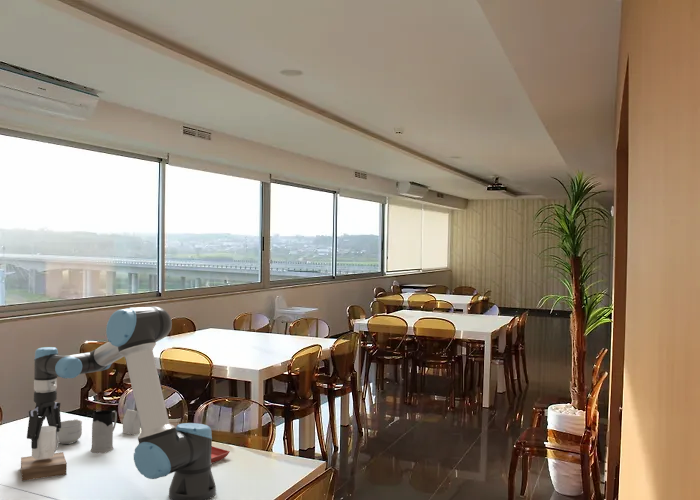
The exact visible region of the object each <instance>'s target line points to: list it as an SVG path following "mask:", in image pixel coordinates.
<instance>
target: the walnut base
mask: <svg viewBox="0 0 700 500" xmlns="http://www.w3.org/2000/svg"><path fill="white" fill-rule="evenodd" d="M67 468H68V466H67V460H66V457H65V453H64V451H62V452H61V451H60V452H54V456H53V457H51V458H48V459H34V458H33V457H32V455H31V456H22V457H20V474H21V481H22V482H25V481H26V482H27V481H31V480H36V479H37V480H38V479H39V480H40V479H47V478H51V477H61V476H66V475H67Z"/></svg>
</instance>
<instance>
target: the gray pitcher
mask: <svg viewBox="0 0 700 500" xmlns="http://www.w3.org/2000/svg"><path fill="white" fill-rule="evenodd" d="M117 415H118V414H117V411H116V410H109V409H107V410H106V409H104V410H103V409H101V410H97V411H94V412H93V413H92V424H91V447H90V450H89V451H90V452H91V453H94V454H104V453H105V452H106V453H108V452H109V451H110V452H111V451H113V450H114V446H113V445H114V444H113V442H114V440H113V439H114V436H113V435H114V431H115V428H116V425H117V420H118V419H117V418H118V416H117ZM113 417H114V419H113ZM113 420H114V423H113ZM110 452H109V453H110Z"/></svg>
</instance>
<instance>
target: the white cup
mask: <svg viewBox="0 0 700 500" xmlns="http://www.w3.org/2000/svg"><path fill="white" fill-rule="evenodd" d="M35 436H36V435H35ZM38 439H40V457H39V458H37V457H33V458H34V459H48V458H51V457H53V456H54V453H55V452H54V448H55V440H56V427H54V426H49V425H45V426H44V425H42V427H41V431H40V435H39V438H38Z"/></svg>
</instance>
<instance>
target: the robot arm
mask: <svg viewBox="0 0 700 500" xmlns="http://www.w3.org/2000/svg"><path fill="white" fill-rule="evenodd" d="M172 325H173V322H172V318H171V315H170V314H169V312H168V311H167V310H166V309H164V308H162V307H159V306H155V305H154V306H145V307H144V306H141V307H127V308H123V309H118V310H115V311H114V312H113V313H112V314H110V316H109V318H108V321H107V323H106V330H105V331H106V332H105V334H106V338H107V342H105V343H104V344H102V345H100V346H99V347H97V348H96V349H94V350H92V351H87V352H80V353H74V354H68V355H66V354H65V355H61V354H59V351H58V350H59V349H58V348H57V347H54V346H44V347H39V348H36V349H35V351H34V360H33V361H34V363H33V364H34V365H33V367H34V368H33V370H34V376H33V377H34V378H33V379H34V380H33V391H34V392H33V402H34V403H35V407H34V409H32V410H31V409H29V411H28V425H27V434H26V439H27V440H31V442H30V443H31V456H32V457H37V458H39V457H40V439H38V438H39V435H40V431H41V427H43V423H44V421H45V420H46V421H47V424H48V425H47V426H54V427H56V438H57V432H59V431H60V428H61V422H62V421H61V402H58V401H57V399H58V398H57V397H58V394H57V393H58V390H57V388H58V378H61V379H74V378H77V377H78V376H79V375H84V374H89V373H95V372H102V371H105V370H108V369H110V368H111V366H112V364H113V363H114V362H117V361H119V360H120V359H123V358H125V362H126V367H127V372H128V376H129V381H130V385H131V390H132V393H133V397H134V403H135V408H136V411H137V413H138V417H139V422H140V433H139V435H138V437H137V440H138V444H137V445H136V446H135V449H134V452H133V461H134V466H135V467H136V469H137V471H138V473H140V474H141V475H142V476H144V477H145V478H147V479H148V480H149V479H150V480H157V479H161V478H164V477H167V476H168V475H170V474H173V473H174V474H173V477H172V479H171V482H170V485H169V488H168V497H169V499H170V500H209V499H211V498H213V497H214V496H215V495H216V494H217V492H216V491H217V490H216V489H217V486H216V482H215V479H214V476H213V472H212V463H211V449H212V444H213V443H212V442H213V441H212V440H213V437H212V436H213V435H212V429H211V426H209V425H207V424H203V423H197V422H196V423H195V422H187V423H186V422H184V423H183V422H182V423H179V424H177V425H176V426H175V425H174V424H171V423H170V420H169V417H168V411H167V408H166V402H165V399H164V394H163V390H162V389H163V388H162V386H161V380H160V378H159V373H158V368H157V365H156V361H155V360H156V359H155V355H154V351H153V350H154V348H155V347H156V345H157V342H159V341H161V340H163V339H164V338H166V337H167V336H168V335H169V334H170V332H171V330H172ZM56 401H57V402H56ZM57 424H58V425H57ZM35 435H36V436H35ZM54 450H56V451H57V449H56V440H55V448H54Z"/></svg>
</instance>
